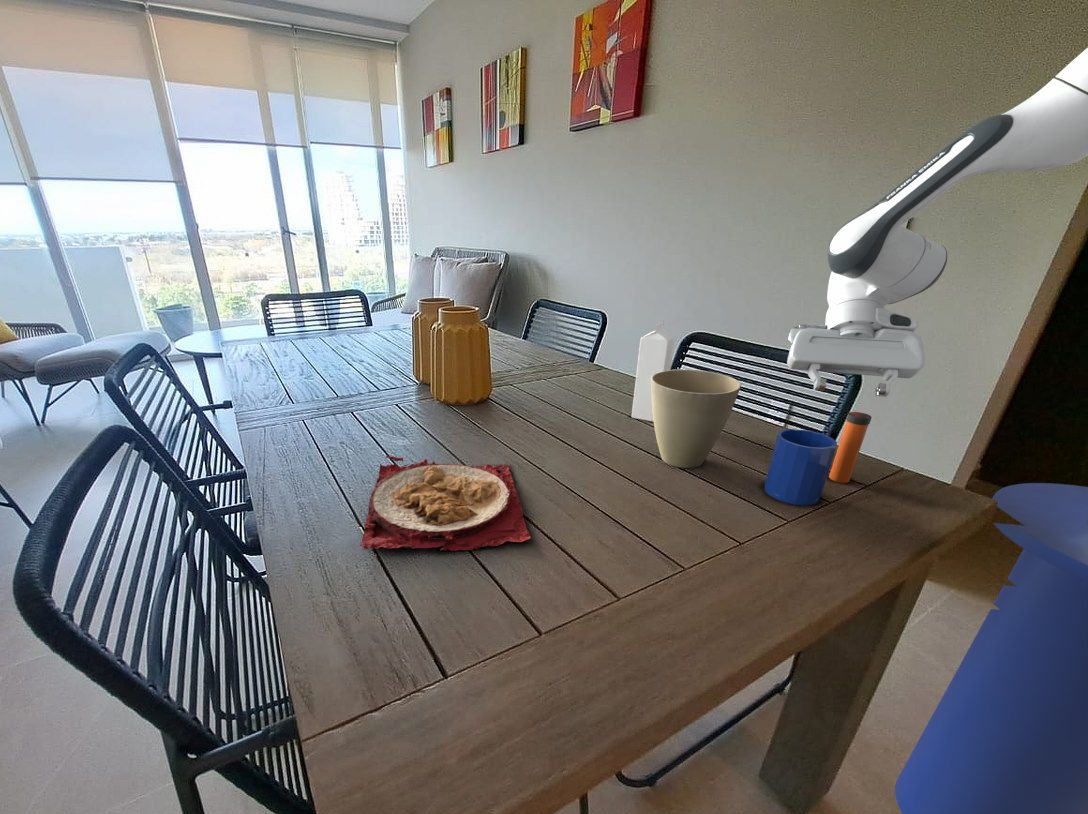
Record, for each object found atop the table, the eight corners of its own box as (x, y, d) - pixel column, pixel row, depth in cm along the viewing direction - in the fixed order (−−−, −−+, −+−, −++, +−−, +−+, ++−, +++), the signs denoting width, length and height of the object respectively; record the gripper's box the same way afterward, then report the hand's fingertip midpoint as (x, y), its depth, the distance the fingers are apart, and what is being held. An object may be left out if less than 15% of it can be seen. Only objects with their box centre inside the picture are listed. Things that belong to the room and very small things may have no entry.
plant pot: (634, 443, 99) (643, 368, 93) (707, 445, 98) (722, 369, 91) (650, 477, 86) (662, 392, 79) (735, 479, 84) (755, 393, 78)
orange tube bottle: (844, 475, 85) (865, 412, 80) (853, 483, 82) (875, 419, 78) (824, 474, 86) (844, 411, 81) (832, 482, 83) (853, 417, 78)
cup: (808, 483, 83) (824, 430, 79) (827, 507, 76) (846, 450, 71) (757, 480, 84) (771, 427, 80) (772, 503, 77) (788, 446, 73)
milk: (663, 415, 115) (678, 321, 106) (656, 422, 110) (671, 325, 101) (638, 410, 118) (650, 319, 109) (630, 417, 113) (642, 323, 104)
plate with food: (360, 559, 66) (357, 538, 64) (381, 470, 89) (379, 454, 87) (531, 549, 68) (532, 529, 66) (508, 465, 91) (508, 449, 89)
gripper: (794, 314, 91) (788, 377, 87) (929, 320, 83) (930, 389, 79) (785, 333, 96) (779, 394, 92) (911, 340, 89) (911, 406, 85)
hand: (850, 392), depth 86 cm, fingers open, 8 cm apart
